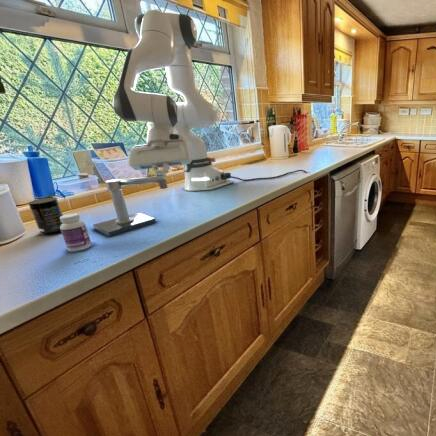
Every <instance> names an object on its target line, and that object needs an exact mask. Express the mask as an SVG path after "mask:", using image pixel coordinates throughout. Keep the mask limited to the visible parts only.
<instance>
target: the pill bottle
mask: <svg viewBox="0 0 436 436" xmlns="http://www.w3.org/2000/svg"><path fill="white" fill-rule="evenodd" d="M60 220H61V222H62V223H63V224H61V226H60V229H61V232H60V233H61V235H62V237H63V240H64V244H65V246H66V248H67V251H69V252H79V251H80V252H81V251H84V250H87V249H88V248H90V247H91V246H92V241H91V239H90V235H89V232H88V228H87V226H86V222H84V221H83V220H82V219H81V218H80V215H79V213H76V212H75V213H74V212H73V213H68V214H63V216H61V217H60Z"/></svg>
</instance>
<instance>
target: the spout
mask: <svg viewBox="0 0 436 436" xmlns="http://www.w3.org/2000/svg"><path fill="white" fill-rule="evenodd" d="M144 184H145V185H147V184H158V185H159V189H160V190H165V189H168V188H169V187H168V183H167V179H166V177H163V176H157V177H156V176H145V177H132V178H121V179H120V178H114V179H108V180H106V181H105V185H106V190H107V191H108V192H110V191H114V190H120V189H122V190H123V187H124V186H133V185H144Z"/></svg>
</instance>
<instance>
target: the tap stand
mask: <svg viewBox="0 0 436 436" xmlns="http://www.w3.org/2000/svg"><path fill="white" fill-rule="evenodd" d="M109 193H110V198H111V201H112V204H113V207H114V212H115V215H116V217H117V218H112V219H109V220H105V221H102V222H99V223H93V224H92V226H93V229H94V230H96V231H97V232H100V233H102V234H103V235H106V236H108V237H112V236H115V235H118V234H122V233H125V232H129V231H132V230H136V229H138V228H142V227H146V226H149V225H152V224H154V223H156V222H157V221H156V218H155V217H152V216H149V215H147V214H144V213H141V212H135V213H131V214H129V211H128V208H127V204H126V200H125V197H124V193H123V188H122V189H120V190H114V191H109Z"/></svg>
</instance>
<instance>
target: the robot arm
mask: <svg viewBox="0 0 436 436" xmlns="http://www.w3.org/2000/svg"><path fill="white" fill-rule="evenodd" d="M134 28H135V31H136V34H137V36H138V38H139V41H138V43H137V44H136V45H135V46H134V47H132V48H129V49H128V50H127V53H126V55H125V58H124V62H123V66H122V69H121V73H120V77H119V81H118V85H117V88H116V90H115V92H114V95H113V99H112V107H113V112H114V113H115V114H116V115H117V116H118V117H119V118H120V119H122V120H123V121H124V122H141V123H147V128H148V130H147V132H146V144H145V143H144V144H140V145H139V144H136V145H134V146H133V147H132V148H131V147H130V149H129V157H128V165H129V167H130V168H131V169H133V170H134V171H141V170H150V169H152V170H153V171H154V177H157V176H163V177H165V178H167V173H168V172H169V170H170V167H175V166H182V170H183V172H184V190H185V191H189V192H190V191H191V192H197V191H211V190H215V189H218V188H222V187H224V186H227V185H229V184H232V180H231V179H236V180H239V181H241V182H242V181H243V182H250V181H257V180H272V179H277V178H281V177H284V176H286V175H289V174H293V173H297V172H298V173H299V172H304V173H306V174H307V173H308V171H306V170H304V169H297V170H294V171H289V172H286V173H283V174H280V175H276V176H270V177H269V176H268V177H256V178H248V179H245V178H240V177H237V176H232V175H231V172H225V171H224V170H222V169H221V168H219V167H217V166H215V165H214V164H213V163H215V162H216V158H215V157H209V156H208V152H207V147H206V142H205V141H204V139H203V138H201V137H200V136H197V135H195V134H193V132H192V131H191V130H190V129H195V128H197V129H198V128H209V127H212V126H214V125H215V124H216V123H217V120H218V112H217V109H216V108H215V106H214V105H213V104H212V103H211V102H209V101H207V100H206V98H204V97H203V95H202V93H200V90H199V88H198V86H197V82H196V77H195V72H194V64H193V60H192V55H191V53H190V50H191V49H192V46H194V45H195V43H196V42H197V38H198V29H197V26H196V24H195V21H194V20H193V18H192V17H191V16H190V15H188V14H185V13H173V12H162V11H160V10H156V9H149V10H147V11H146V12H145V13H142V14H138V15H137V16H136V17H135V19H134ZM164 68H165V74H166V79H167V80H166V81H167V85H168V87H169V88H170V90H171V91H173V92H175V93H177V94H179V95H181V96H183V98H184V100H185V101H184V102H182V101H181V102H176V101H175V100H174V99H173V98H172V97H171V96H170V95H169V94H168V95H167V94H163V93H155V92H145V91H139V90H136V85H137V81H138V77H139V75H140V74H142V73H144V72H148V71H153V70H161V69H164ZM159 168H162V169H161V170H160V169H159ZM310 210H312V212H311V229H312V232H314V212H313V211H314V210H313V200H311V201H310Z"/></svg>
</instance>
